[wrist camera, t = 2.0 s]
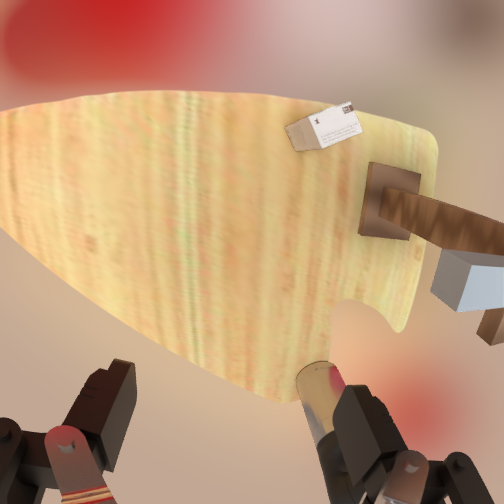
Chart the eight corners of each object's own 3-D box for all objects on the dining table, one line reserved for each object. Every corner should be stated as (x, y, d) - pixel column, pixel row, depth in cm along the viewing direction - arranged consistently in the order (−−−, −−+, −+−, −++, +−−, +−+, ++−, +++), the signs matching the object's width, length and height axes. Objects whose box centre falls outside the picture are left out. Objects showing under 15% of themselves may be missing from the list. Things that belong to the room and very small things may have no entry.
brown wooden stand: (404, 238, 49) (545, 329, 18) (344, 231, 48) (490, 345, 17) (416, 173, 45) (579, 218, 14) (355, 159, 44) (536, 192, 13)
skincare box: (295, 152, 43) (321, 153, 31) (283, 125, 41) (304, 116, 30) (330, 137, 42) (365, 135, 31) (318, 111, 41) (351, 99, 30)
